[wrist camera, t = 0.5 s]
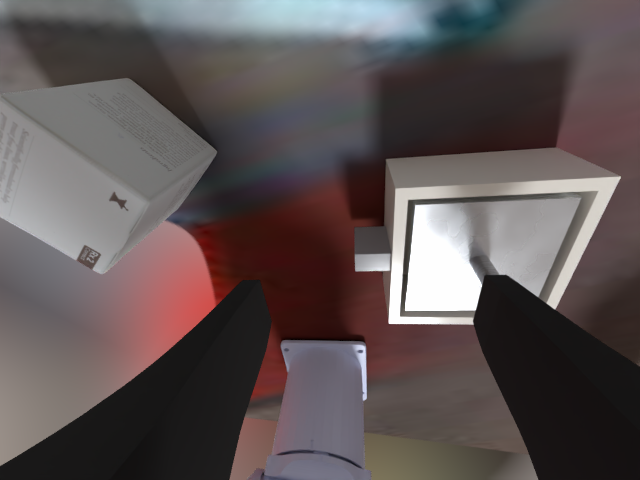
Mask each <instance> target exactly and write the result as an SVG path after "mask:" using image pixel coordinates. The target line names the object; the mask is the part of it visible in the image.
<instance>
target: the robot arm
mask: <svg viewBox="0 0 640 480" xmlns="http://www.w3.org/2000/svg"><path fill="white" fill-rule="evenodd" d="M271 322H272V321H271V317H270V314H269V310H268V307H267V304H266V300H265V297H264V293H263V290H262V286H261V283H260V280H243V281H242V282H240V283H239V284H238V285H237V286H236V287H235V288H234V289H233V290H232V291H231V292H230V293H229V294H228V295H227V296H226V297H225V298H224V299H223V300H222V301H221V302H220V303H219V304H218V305H217V306H216V307H215V308H214V309H213V310H212V311H211V312H210V313H209V314H208V315H207V316H206V317H205V318H204V319H203V320H202V321H200V322H199V323H198V324H197V325H196V326H195V327H194V328H193V329H192V330H191V331H190V332H189V333H187V334H186V335H185V336H184V337H183V338H182V339H181V340H180V341H179V342H177V343H176V344H175V345H174V346H173V347H172V348H171V349H169V351H167V352H166V353H165V354H164V355H162V356H161V357H160V358H159V359H158V360H156V361H155V362H154V363H153V364H152V365H150V366H149V367H148V368H146V369H145V370H144V371H143V372H141V373H140V374H139V375H137V376H136V377H135V378H134V379H132V380H131V381H130V382H128V383H127V384H126V385H125V386H123V387H122V388H120V389H119V390H117V391H116V392H114V393H113V394H112V395H110V396H109V397H107V398H106V399H104V400H103V401H102V402H100V403H99V404H97V405H96V406H94V407H93V408H92V409H90V410H89V411H87V412H86V413H84V414H83V415H82V416H80V417H79V418H77V419H75V420H74V421H72V422H71V423H69V424H68V425H66V426H65V427H63V428H62V429H60V430H59V431H57V432H56V433H54V434H52V435H51V436H49V437H48V438H46V439H44V440H43V441H41V442H39V443H38V444H36V445H35V446H33V447H31V448H30V449H28V450H27V451H25V452H23V453H22V454H20V455H18V456H17V457H15V458H13V459H12V460H10V461H8V462H7V463H5V464H3V465H1V466H0V480H229V479H230V474H231V469H232V465H233V460H234V456H235V451H236V448H237V443H238V439H239V435H240V430H241V427H242V424H243V420H244V417H245V414H246V410H247V407H248V404H249V401H250V398H251V395H252V392H253V389H254V386H255V383H256V380H257V377H258V374H259V371H260V368H261V364H262V361H263V358H264V355H265V352H266V348H267V343H268V338H269V333H270V328H271ZM473 324H474V327H475V330H476V333H477V337H478V340H479V343H480V346H481V349H482V352H483V354H484V356H485V358H486V361H487V363H488V365H489V367H490V369H491V371H492V374H493V376H494V378H495V380H496V382H497V384H498V386H499V388H500V391H501V393H502V395H503V397H504V399H505V401H506V403H507V405H508V408H509V410H510V412H511V414H512V416H513V418H514V420H515V422H516V424H517V427H518V429H519V431H520V433H521V436H522V438H523V440H524V443H525V445H526V447H527V450H528V452H529V455H530V458H531V460H532V463H533V466H534V469H535V471H536V474H537V477H538V480H640V367H639V366H638V365H636V364H634V363H633V362H631V361H630V360H628V359H627V358H625V357H624V356H622V355H621V354H619V353H618V352H616V351H614V350H613V349H611V348H610V347H608V346H607V345H605V344H604V343H602V342H601V341H599V340H598V339H596V338H595V337H593V336H592V335H590V334H589V333H587V332H586V331H585V330H583V329H582V328H580V327H579V326H577V325H576V324H575V323H573V322H572V321H570V320H569V319H567V318H566V317H565V316H563V315H562V314H560V313H559V312H558V311H556V310H555V309H553V308H552V307H551V306H549V305H548V304H547V303H545V302H544V301H543V300H541V299H540V298H538V297H537V296H536V295H534V294H533V293H532V292H530V291H529V290H527V289H526V288H525V287H523V286H522V285H521V284H519V283H518V282H516V281H515V280H514V279H512V278H511V277H509V276H508V275H485V276H484V280H483V284H482V287H481V291H480V295H479V299H478V303H477V307H476V311H475V315H474V319H473ZM281 349H282V353H283V356H284V360H285V364H286V367H287V371H288V376H287V381H286V386H285V391H284V396H283V401H282V406H281V411H280V416H279V421H278V425H277V430H276V435H275V440H274V445H273V450H272V455H268V458H267V463H266V468H265V470H264V469H260V468H257V469H256V470H255V471H254V473H253V474H252V475H250V476H249V477H248V478H247V480H371V471H370V470H365V451H364V417H363V400H365V399H367V384H366V344H365V343H364V342H361V341H316V340H283V341H282V342H281Z"/></svg>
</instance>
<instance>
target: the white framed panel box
mask: <svg viewBox="0 0 640 480" xmlns="http://www.w3.org/2000/svg"><path fill="white" fill-rule="evenodd" d="M620 178H621V176H619V175H617V174H614V173H612V172H610V171H608V170H605V169H603V168H601V167H599V166H597V165H594V164H592V163H590V162H588V161H585V160H583V159H581V158H579V157H576V156H574V155H572V154H570V153H568V152H565V151H563V150H561V149H559V148H541V149H526V150H511V151H497V152H482V153H467V154H452V155H438V156H423V157H408V158H393V159H386V177H385V214H384V226H380V227H355V271H383V283H384V290H385V297H386V305H387V312H388V320H389V324H473V319H474V315H475V311H476V310H406V309H405V304H404V300H405V288H406V277H407V265H408V254H409V242H410V230H411V219H412V207H413V200H422V199H443V198H464V197H485V196H506V195H527V194H548V193H569V192H573V193H575V194H577V195H578V196H580V197H581V200H580V203H579V205H578V207H577V210H576V212H575V214H574V216H573V219H572V221H571V223H570V226H569V228H568V230H567V233H566V235H565V237H564V239H563V242H562V244H561V246H560V249H559V251H558V253H557V255H556V258H555V260H554V262H553V265H552V267H551V269H550V272H549V274H548V276H547V278H546V281H545V283H544V285H543V288H542V290H541V292H540V294H539V297H538V298H540V299H541V300H543V301H544V302H545V303H547V304H548V305H549V306H551V307H552V308H553V309H556V307H557V305H558V303H559V301H560V299H561V297H562V295H563V293H564V291H565V289H566V287H567V285H568V283H569V281H570V279H571V277H572V275H573V273H574V271H575V269H576V267H577V265H578V263H579V260H580V258H581V256H582V254H583V252H584V250H585V248H586V246H587V244H588V242H589V240H590V238H591V236H592V234H593V232H594V230H595V228H596V226H597V224H598V222H599V220H600V218H601V216H602V214H603V212H604V210H605V208H606V206H607V204H608V202H609V200H610V198H611V196H612V194H613V192H614V190H615V188H616V186H617V184H618V182H619V180H620Z"/></svg>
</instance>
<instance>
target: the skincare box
mask: <svg viewBox="0 0 640 480" xmlns="http://www.w3.org/2000/svg"><path fill="white" fill-rule="evenodd" d="M216 154H217V151H216V150H215V149H214V148H213V147H212V146H211V145H209V144H208V143H207V142H206V141H205V140H204V139H202V138H201V137H200V136H199V135H197V134H196V133H195V132H194V131H193V130H192V129H190V128H189V127H188V126H187V125H186V124H184V123H183V122H182V121H181V120H179V119H178V118H177V117H176V116H175V115H174V114H172V113H171V112H170V111H169V110H168V109H166V108H165V107H164V106H163V105H162V104H160V103H159V102H158V101H157V100H156V99H154V98H153V97H152V96H151V95H150V94H148V93H147V92H146V91H145V90H144V89H142V88H141V87H140V86H139V85H137V84H136V83H135V82H134V81H132V80H131V79H129V78H122V79H115V80H106V81H98V82H91V83H83V84H75V85H67V86H61V87H52V88H44V89H37V90H28V91H21V92H14V93H5V94H0V217H1V218H3V219H5V220H7V221H8V222H10V223H12V224H13V225H15V226H17V227H19V228H21V229H22V230H24V231H26V232H28V233H30V234H31V235H33V236H35V237H37V238H39V239H41V240H42V241H44V242H46V243H47V244H49V245H51V246H52V247H54V248H56V249H58V250H59V251H61V252H63V253H65V254H66V255H68V256H70V257H71V258H73V259H75V260H77V261H79V262H80V263H82V264H84V265H85V266H87V267H89V268H90V269H92V270H94V271H95V272H97V273H99V274H104V273H106V272H107V271H108V270H109V269H110V268H111V267H113V266H114V265H115V264H116V263H117V262H118V261H119V260H120V259H121V258H122V257H124V256H125V255H126V254H127V253H128V252H129V251H130V250H131V249H133V248H134V247H135V246H136V245H137V244H138V243H140V242H141V241H142V240H143V239H144V238H145V237H146V236H147V235H148V234H150V233H151V232H152V231H153V230H154V229H155V228H156V227H158V226H159V225H160V224H161V223H162V222H163V221H164V220H165V219H167V218H168V217H169V216H170V215H171V214H172V213H174V212H175V211H176V210H177V209H178V208H179V207H180V205H181V204H182V203H183V202H184V200H185V199H186V198H187V196H188V195H189V194H190V192H191V191H192V189H193V188H194V187H195V185H196V184H197V182H198V181H199V180H200V178H201V177H202V175H203V174H204V172H205V171H206V170H207V168H208V167H209V165H210V164H211V162H212V161H213V159H214V158H215V156H216Z"/></svg>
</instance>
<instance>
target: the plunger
mask: <svg viewBox="0 0 640 480" xmlns="http://www.w3.org/2000/svg"><path fill="white" fill-rule="evenodd" d="M580 200H581V197H580V196H578V195H577V194H575V193H573V192H569V193H548V194H527V195H506V196H485V197H464V198H443V199H422V200H413V207H412V219H411V230H410V242H409V254H408V265H407V277H406V288H405V300H404V304H405V309H406V310H476V307H477V303H478V299H479V295H480V291H481V287H482V284H483V280H484V276H485V275H508V276H509V277H511V278H512V279H514V280H515V281H516V282H518V283H519V284H521V285H522V286H523V287H525V288H526V289H527V290H529V291H530V292H532V293H533V294H534V295H536V296H537V297H539V294H540V292H541V290H542V288H543V285H544V283H545V281H546V278H547V276H548V274H549V272H550V269H551V267H552V265H553V262H554V260H555V258H556V255H557V253H558V251H559V249H560V246H561V244H562V242H563V239H564V237H565V235H566V233H567V230H568V228H569V226H570V223H571V221H572V219H573V216H574V214H575V212H576V210H577V207H578V205H579V203H580Z"/></svg>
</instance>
